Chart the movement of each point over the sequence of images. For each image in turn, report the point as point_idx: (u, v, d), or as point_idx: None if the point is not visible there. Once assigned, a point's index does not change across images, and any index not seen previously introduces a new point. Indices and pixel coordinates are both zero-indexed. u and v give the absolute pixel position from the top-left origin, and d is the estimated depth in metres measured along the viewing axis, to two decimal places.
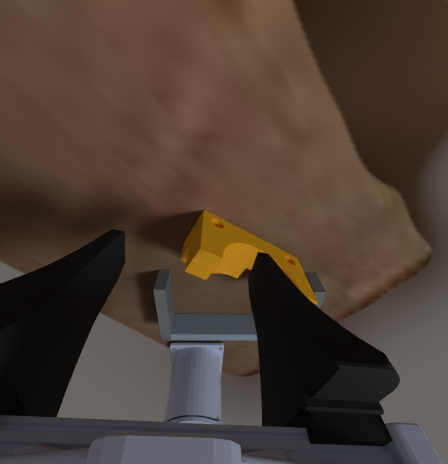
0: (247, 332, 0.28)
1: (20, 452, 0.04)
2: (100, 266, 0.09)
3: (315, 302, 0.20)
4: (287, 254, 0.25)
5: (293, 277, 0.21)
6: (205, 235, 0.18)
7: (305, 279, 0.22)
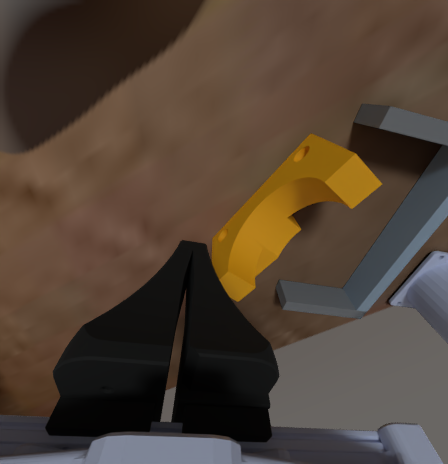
0: (414, 232, 0.18)
1: (20, 452, 0.04)
2: (185, 277, 0.10)
3: (353, 158, 0.11)
4: (296, 150, 0.17)
5: (308, 174, 0.14)
6: (214, 265, 0.18)
7: (327, 147, 0.14)
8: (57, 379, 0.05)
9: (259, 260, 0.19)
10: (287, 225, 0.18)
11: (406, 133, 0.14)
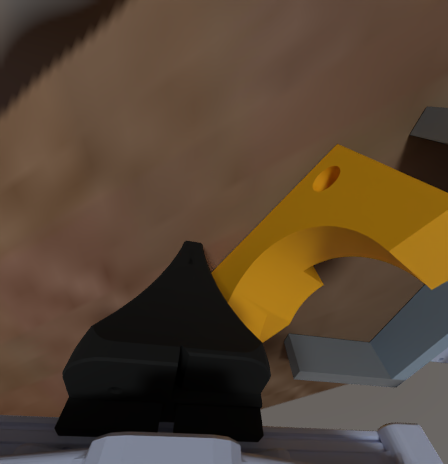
0: None
1: (20, 452, 0.04)
2: None
3: None
4: (316, 172, 0.11)
5: (345, 221, 0.08)
6: None
7: (379, 174, 0.08)
8: (66, 380, 0.05)
9: (262, 328, 0.13)
10: (303, 280, 0.12)
11: None
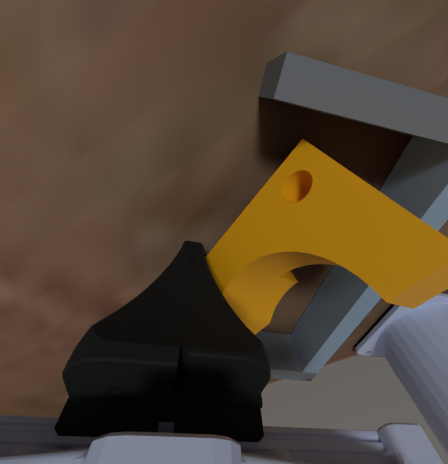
0: None
1: (20, 452, 0.04)
2: None
3: None
4: (283, 174, 0.10)
5: (330, 251, 0.07)
6: None
7: (361, 194, 0.07)
8: (66, 380, 0.05)
9: None
10: (279, 284, 0.12)
11: (329, 109, 0.07)
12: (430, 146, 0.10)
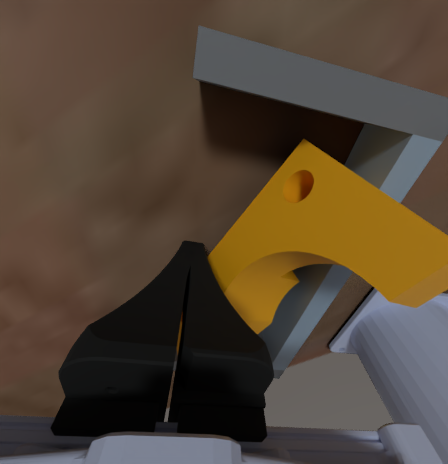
0: (326, 267, 0.11)
1: (20, 452, 0.04)
2: (188, 278, 0.10)
3: None
4: (284, 174, 0.10)
5: (332, 251, 0.07)
6: None
7: (363, 194, 0.07)
8: (62, 379, 0.05)
9: None
10: (280, 283, 0.12)
11: (253, 90, 0.07)
12: (378, 133, 0.09)
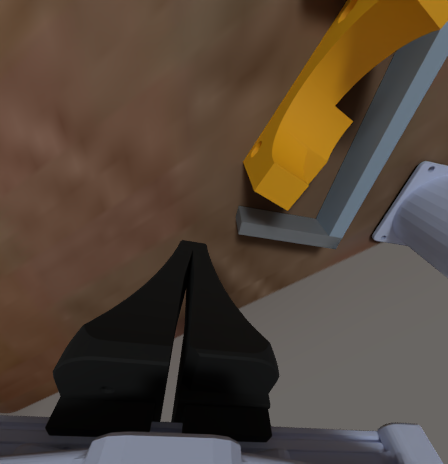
0: (392, 111, 0.14)
1: (20, 452, 0.04)
2: (185, 277, 0.10)
3: None
4: (340, 14, 0.14)
5: (369, 6, 0.10)
6: (252, 174, 0.15)
7: None
8: (57, 379, 0.05)
9: (304, 169, 0.16)
10: (335, 117, 0.15)
11: None
12: None
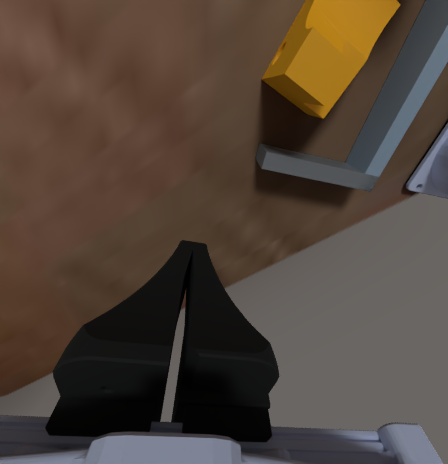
0: None
1: (20, 452, 0.04)
2: (185, 277, 0.10)
3: None
4: None
5: None
6: (279, 69, 0.12)
7: None
8: (57, 379, 0.05)
9: None
10: None
11: None
12: None
